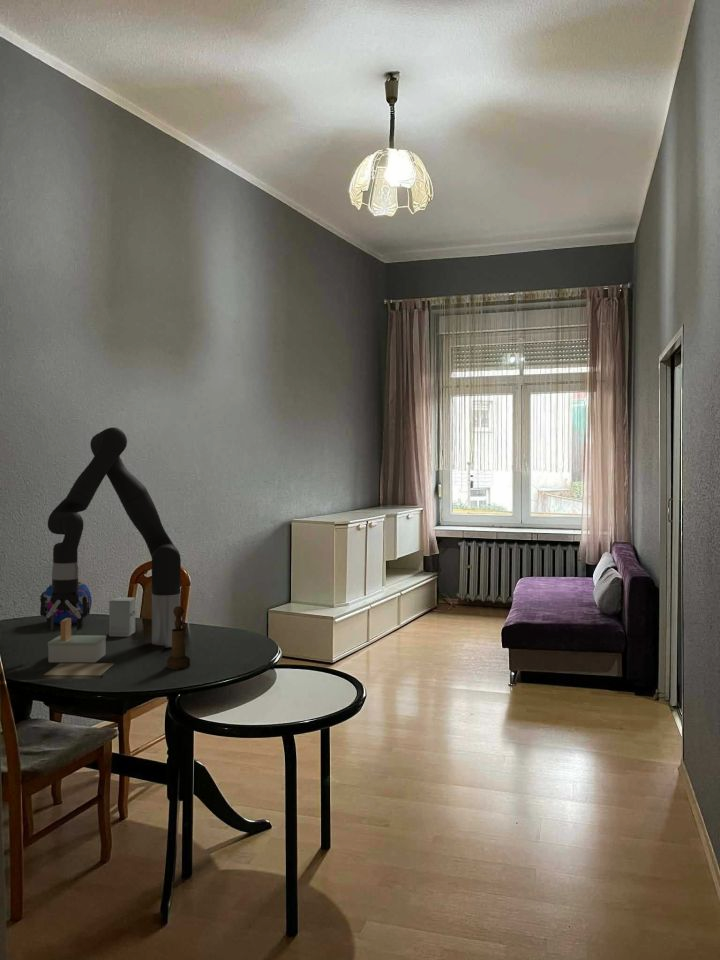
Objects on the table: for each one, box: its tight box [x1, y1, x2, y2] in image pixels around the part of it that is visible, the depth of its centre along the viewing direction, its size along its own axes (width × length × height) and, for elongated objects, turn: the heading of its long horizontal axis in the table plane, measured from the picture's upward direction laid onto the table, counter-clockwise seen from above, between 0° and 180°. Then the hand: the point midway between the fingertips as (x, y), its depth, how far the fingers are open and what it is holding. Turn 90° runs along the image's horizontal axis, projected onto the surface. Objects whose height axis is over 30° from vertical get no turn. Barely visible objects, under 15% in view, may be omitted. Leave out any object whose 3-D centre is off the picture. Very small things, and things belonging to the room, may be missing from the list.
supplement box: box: [108, 596, 136, 638], centre depth 286 cm, size 7×7×13 cm
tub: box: [47, 638, 107, 663], centre depth 248 cm, size 14×10×6 cm
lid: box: [47, 618, 107, 647], centre depth 248 cm, size 14×10×7 cm
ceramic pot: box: [39, 581, 93, 625], centre depth 305 cm, size 18×18×15 cm
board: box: [43, 662, 114, 680], centre depth 235 cm, size 16×13×1 cm
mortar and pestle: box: [166, 605, 191, 670], centre depth 242 cm, size 7×6×18 cm
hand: (64, 629), depth 248 cm, fingers open, 8 cm apart
